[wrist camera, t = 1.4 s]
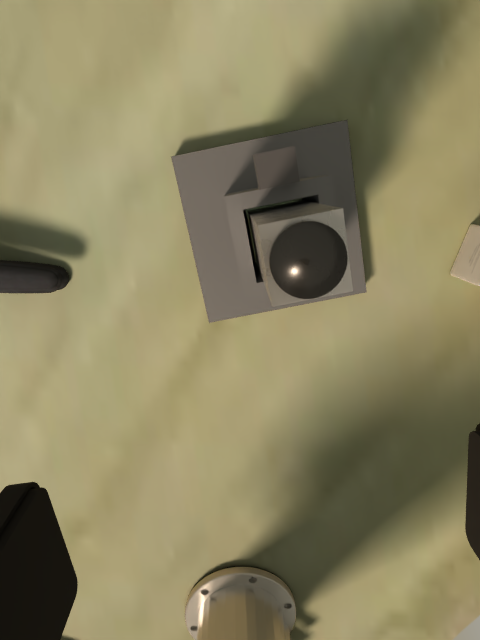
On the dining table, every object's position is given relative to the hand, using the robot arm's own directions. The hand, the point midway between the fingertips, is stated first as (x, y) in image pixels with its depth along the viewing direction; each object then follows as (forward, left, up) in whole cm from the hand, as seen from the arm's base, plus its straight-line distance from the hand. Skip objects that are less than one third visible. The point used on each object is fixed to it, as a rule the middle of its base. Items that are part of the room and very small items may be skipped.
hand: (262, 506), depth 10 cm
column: (0, -4, -29) cm, 29 cm away
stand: (0, -4, -30) cm, 31 cm away
